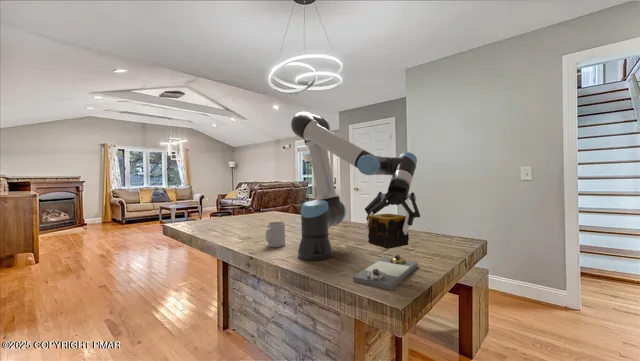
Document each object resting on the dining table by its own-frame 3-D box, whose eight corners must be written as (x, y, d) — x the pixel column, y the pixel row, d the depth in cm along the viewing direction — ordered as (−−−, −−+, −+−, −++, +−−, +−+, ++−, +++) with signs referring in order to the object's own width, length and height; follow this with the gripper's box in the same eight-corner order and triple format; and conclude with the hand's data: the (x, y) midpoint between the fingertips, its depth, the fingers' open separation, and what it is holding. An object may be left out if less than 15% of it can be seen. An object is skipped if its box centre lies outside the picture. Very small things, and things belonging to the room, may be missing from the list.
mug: (275, 242, 143) (275, 221, 143) (288, 244, 139) (288, 222, 139) (259, 247, 133) (259, 225, 133) (273, 249, 129) (273, 226, 128)
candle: (387, 249, 89) (386, 219, 88) (367, 243, 97) (366, 215, 97) (409, 245, 93) (409, 216, 93) (388, 239, 102) (388, 212, 102)
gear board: (353, 281, 89) (353, 269, 89) (384, 260, 110) (384, 250, 110) (391, 290, 82) (391, 277, 82) (417, 266, 103) (417, 255, 103)
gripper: (435, 191, 100) (424, 240, 89) (373, 190, 115) (357, 232, 103) (431, 177, 96) (419, 227, 84) (367, 178, 111) (349, 220, 99)
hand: (385, 230), depth 94 cm, fingers closed on candle, 13 cm apart
